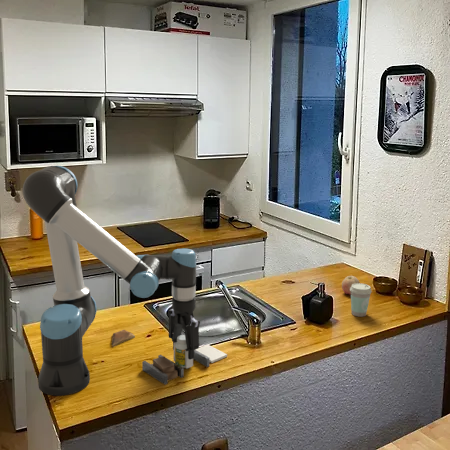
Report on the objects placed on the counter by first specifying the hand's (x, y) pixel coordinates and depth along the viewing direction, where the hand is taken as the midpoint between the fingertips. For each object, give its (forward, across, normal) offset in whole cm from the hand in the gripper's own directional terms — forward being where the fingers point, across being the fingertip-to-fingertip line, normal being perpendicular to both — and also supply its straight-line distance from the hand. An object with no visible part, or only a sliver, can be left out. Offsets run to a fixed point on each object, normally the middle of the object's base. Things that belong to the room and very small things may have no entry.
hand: (183, 363), depth 180 cm
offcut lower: (+1, 0, +8) cm, 8 cm away
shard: (+1, +29, +4) cm, 29 cm away
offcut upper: (-1, 0, +8) cm, 8 cm away
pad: (0, 0, -12) cm, 12 cm away
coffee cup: (0, -13, -82) cm, 83 cm away
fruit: (0, +3, -98) cm, 99 cm away
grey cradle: (+1, 0, +3) cm, 3 cm away
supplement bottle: (0, 0, 0) cm, 0 cm away
